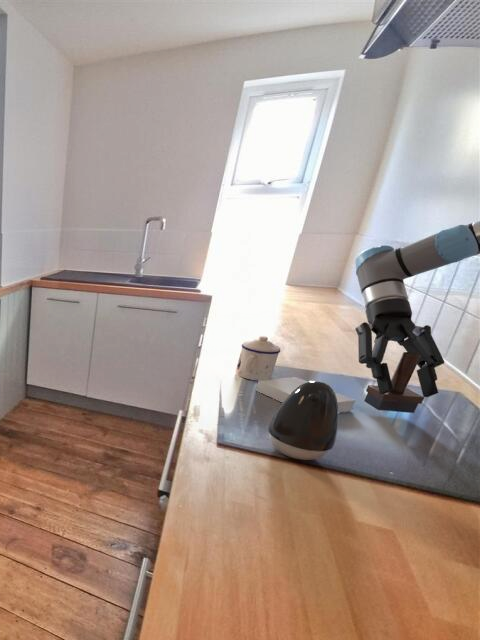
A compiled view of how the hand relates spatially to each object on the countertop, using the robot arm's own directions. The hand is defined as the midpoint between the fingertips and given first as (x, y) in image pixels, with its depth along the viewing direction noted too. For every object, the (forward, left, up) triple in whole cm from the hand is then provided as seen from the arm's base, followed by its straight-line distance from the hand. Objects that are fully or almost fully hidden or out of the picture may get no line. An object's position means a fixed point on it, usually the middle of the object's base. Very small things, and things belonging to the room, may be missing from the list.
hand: (408, 393), depth 91 cm
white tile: (+13, +12, -7) cm, 19 cm away
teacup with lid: (+29, +11, -7) cm, 32 cm away
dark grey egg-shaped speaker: (-6, +36, -7) cm, 37 cm away
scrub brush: (+3, -1, -5) cm, 6 cm away
